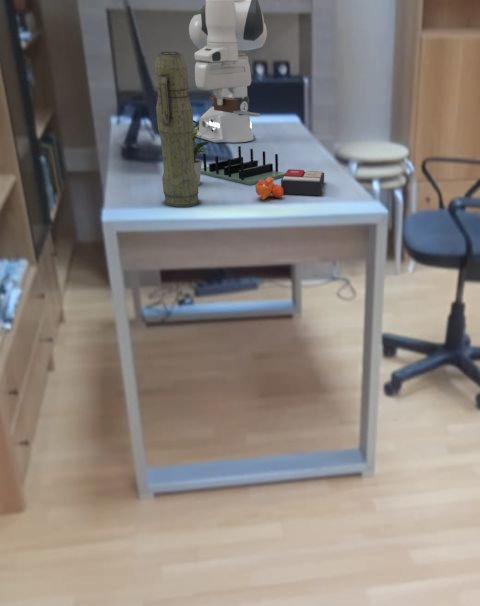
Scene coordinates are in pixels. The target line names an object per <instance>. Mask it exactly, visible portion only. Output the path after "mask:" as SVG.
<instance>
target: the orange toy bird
mask: <svg viewBox="0 0 480 606" xmlns="http://www.w3.org/2000/svg"><path fill="white" fill-rule="evenodd" d="M274 180H275V179H274V178H271V177H268V178H267V179H266V180H259V181H258V183H257V184H255V193H256V194H257V195H258V196H259V199H260V200H263V201H265V199H266V198H268V197H269V196H270V195H272V196H273V197H274V198H275V199H280V198H282V197H283V195H284V194H283V188H282V187H281V184H280V185H279V184H275V183H274Z"/></svg>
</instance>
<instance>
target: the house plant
mask: <svg viewBox="0 0 480 606" xmlns="http://www.w3.org/2000/svg"><path fill="white" fill-rule="evenodd" d="M198 130H199V126H198V127H196V126H194V132H193V135H192V137H193V151H194V165H195V172H196V174H197V179H198V186H199V185H200V184H201V168H202V161H203V160H202V159H200V158H197V157H198V155H199V154H200V153H206V155H208V152H211V150H210V149H209V148H207V147H204V146H206V145H208V144H213V143H214V142H212V141H202V142H198V141H199V139H202V138H201V136H202V135H204V133H205V132H204V133H203V134H201V136H200V137H197V136H198V135H197V131H198ZM206 132H207V131H206ZM196 135H197V136H196ZM202 147H203V148H202ZM207 151H208V152H207Z"/></svg>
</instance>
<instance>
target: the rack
mask: <svg viewBox="0 0 480 606" xmlns="http://www.w3.org/2000/svg"><path fill="white" fill-rule="evenodd" d="M206 153H207V152H206ZM206 153H204V152H202V158H203V159H202V161H203V167H201V173H200V175H201V174H202V175H207V176H210V177H215V178H219V179H223V180H227V181H231V182H235V183H240V184H244V185H247V186H253V185H256V184H257V183H258V181H259V180H266V179H267V178H268V177H271V178H274V180H276V179H280V178H281V179H282V178H283V176H284V175H285V173H286V172H283V171H279V154H278V153H275V154H274V163H275V164H273V163H271V162H269V163H266V151H264V150H262V164H260V165H259V160H257V159H254V149H253V148H250V149H249V154H250V157H249V158H250V160H248V161H245V162H244V156H242V146H241V145H238V146H237V153H238V157H234V158H227V159H224V160H219V156H218V155H215V156H214V158H215V161H214V162H210V163H208V166H207V154H206ZM274 167H275V169H274Z"/></svg>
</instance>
